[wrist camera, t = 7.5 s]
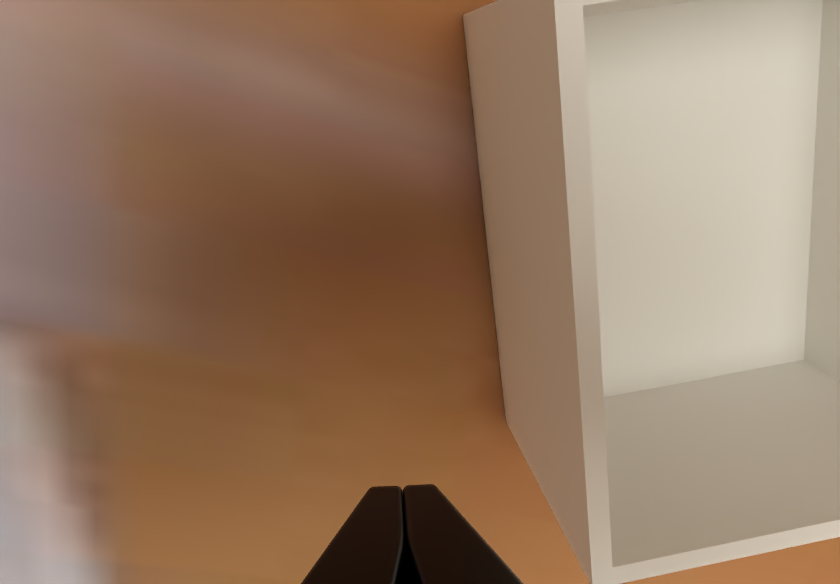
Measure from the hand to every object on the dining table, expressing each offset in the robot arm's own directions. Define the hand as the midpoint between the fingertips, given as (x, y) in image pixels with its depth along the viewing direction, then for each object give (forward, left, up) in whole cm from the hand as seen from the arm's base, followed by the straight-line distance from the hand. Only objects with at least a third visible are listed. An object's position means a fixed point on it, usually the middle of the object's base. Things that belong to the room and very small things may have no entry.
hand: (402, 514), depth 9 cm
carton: (+8, -5, -13) cm, 16 cm away
